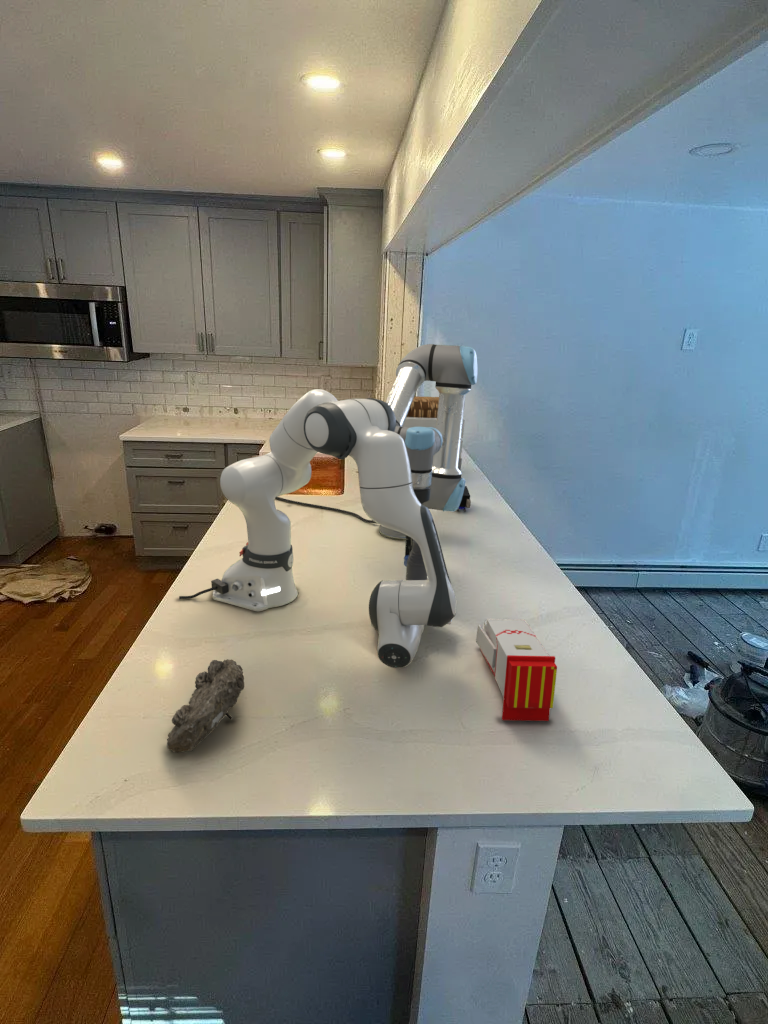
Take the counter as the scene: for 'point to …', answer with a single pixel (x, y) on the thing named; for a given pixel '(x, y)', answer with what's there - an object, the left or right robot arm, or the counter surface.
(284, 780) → the counter surface
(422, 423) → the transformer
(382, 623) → the left robot arm
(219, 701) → the fossil
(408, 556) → the cap
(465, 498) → the figurine character
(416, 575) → the bottle
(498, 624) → the toy
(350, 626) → the counter surface
